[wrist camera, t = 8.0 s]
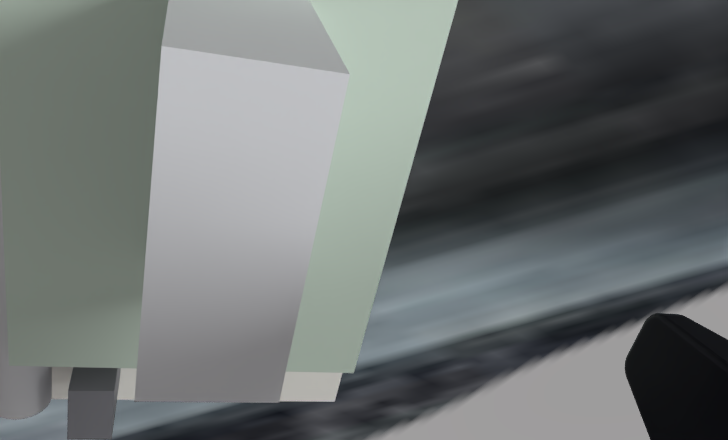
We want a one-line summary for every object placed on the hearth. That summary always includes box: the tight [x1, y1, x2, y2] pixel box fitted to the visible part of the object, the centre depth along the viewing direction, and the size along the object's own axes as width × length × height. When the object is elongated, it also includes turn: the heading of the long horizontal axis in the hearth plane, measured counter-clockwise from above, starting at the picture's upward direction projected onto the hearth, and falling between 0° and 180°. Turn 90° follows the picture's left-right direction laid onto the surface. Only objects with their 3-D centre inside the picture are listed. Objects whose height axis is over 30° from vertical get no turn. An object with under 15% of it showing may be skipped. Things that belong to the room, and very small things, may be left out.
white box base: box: [51, 367, 342, 439], centre depth 16 cm, size 11×18×6 cm, turn 167°
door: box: [0, 0, 458, 420], centre depth 12 cm, size 9×16×6 cm, turn 167°
